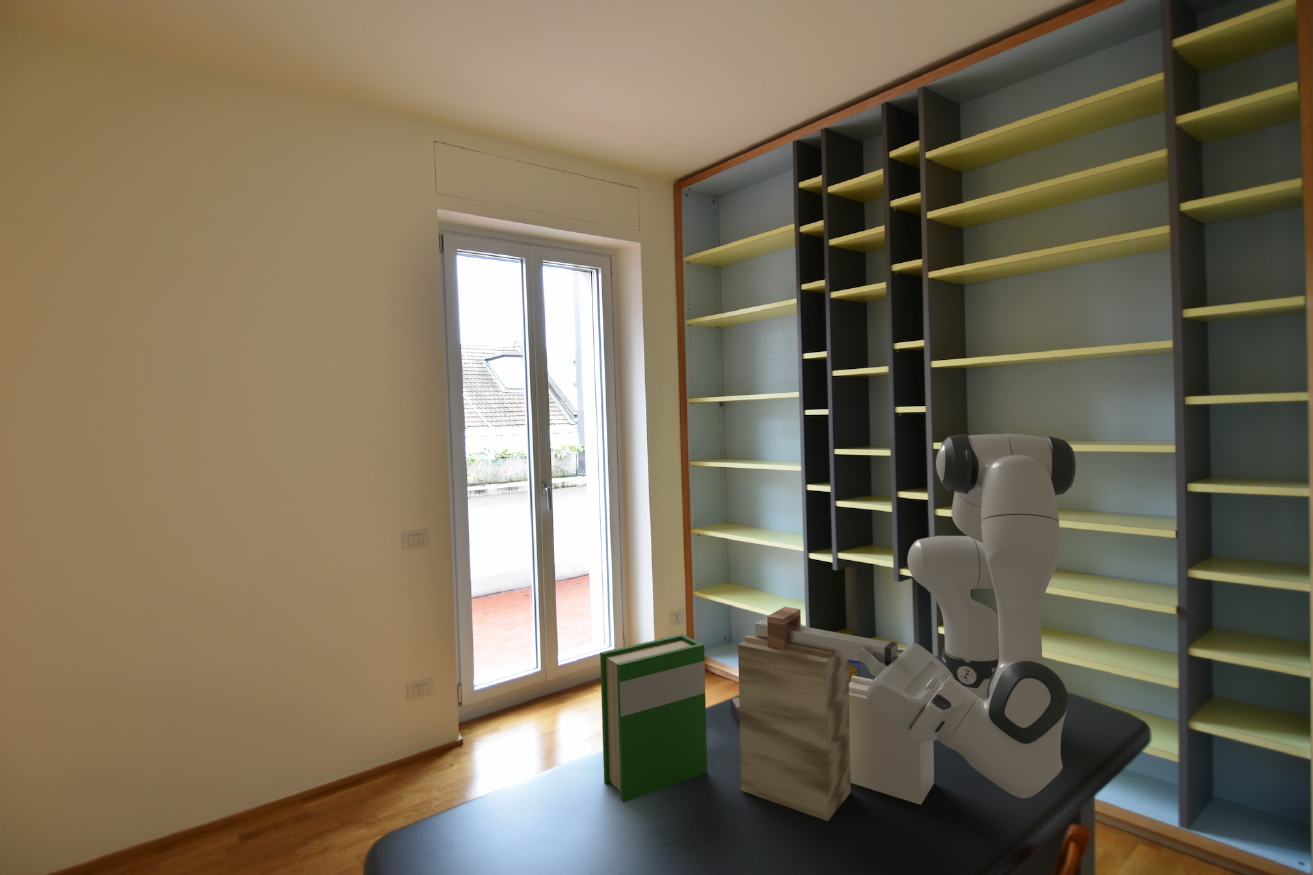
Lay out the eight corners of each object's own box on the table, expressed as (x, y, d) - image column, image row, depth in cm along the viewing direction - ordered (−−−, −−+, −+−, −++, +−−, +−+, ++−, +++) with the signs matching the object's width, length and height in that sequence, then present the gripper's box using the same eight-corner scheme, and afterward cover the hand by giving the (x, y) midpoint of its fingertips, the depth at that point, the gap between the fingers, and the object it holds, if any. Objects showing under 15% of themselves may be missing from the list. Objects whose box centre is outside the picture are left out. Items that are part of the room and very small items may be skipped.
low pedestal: (856, 760, 129) (855, 673, 128) (934, 783, 121) (932, 689, 120) (840, 779, 123) (838, 687, 122) (921, 804, 114) (919, 706, 114)
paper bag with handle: (767, 765, 128) (764, 600, 127) (850, 792, 118) (847, 613, 117) (741, 790, 120) (737, 614, 119) (827, 820, 110) (824, 629, 109)
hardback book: (623, 802, 117) (619, 664, 116) (604, 783, 124) (600, 652, 123) (707, 772, 126) (704, 644, 125) (685, 755, 133) (682, 634, 132)
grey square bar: (763, 635, 123) (763, 618, 123) (897, 662, 109) (897, 642, 109) (755, 640, 121) (754, 623, 121) (891, 668, 106) (890, 648, 106)
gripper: (969, 669, 111) (894, 615, 118) (935, 715, 94) (851, 650, 101) (949, 698, 113) (877, 643, 120) (913, 748, 97) (831, 682, 103)
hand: (864, 647), depth 111 cm, fingers closed on grey square bar, 3 cm apart
